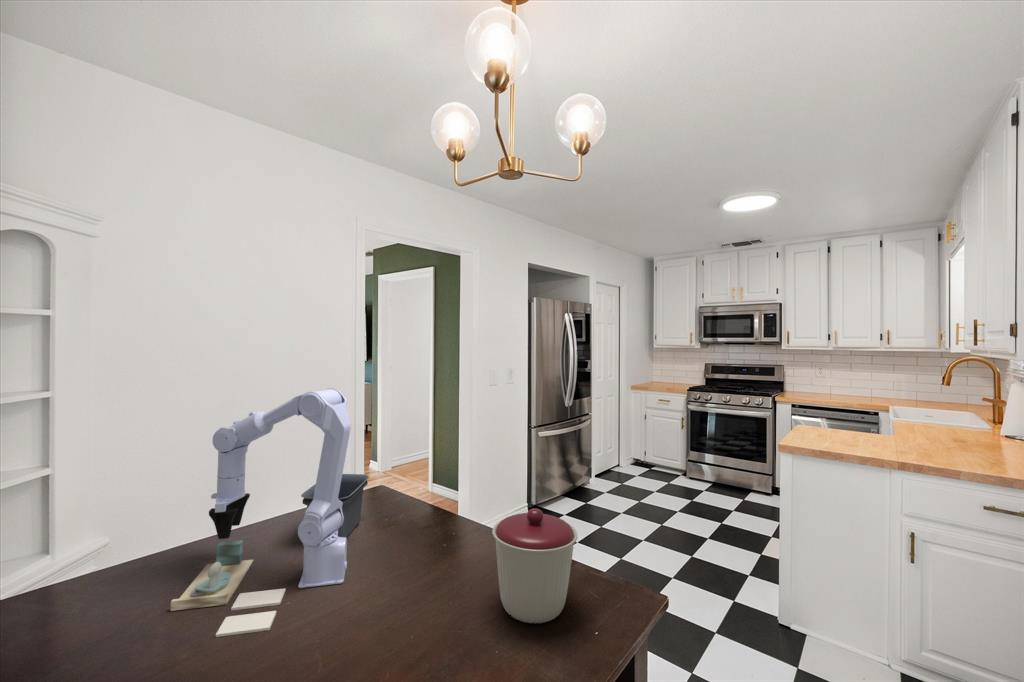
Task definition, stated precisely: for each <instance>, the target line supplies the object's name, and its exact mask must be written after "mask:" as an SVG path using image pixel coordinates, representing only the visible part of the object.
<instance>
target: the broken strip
mask: <svg viewBox="0 0 1024 682" xmlns="http://www.w3.org/2000/svg"><path fill="white" fill-rule="evenodd" d="M285 593H286V588H278V589H277V588H275V589H268V590H267V589H266V590H261V591H259V590H258V591H251V592H250V591H249V592H242V593H241V592H240V593H239V595H238V596H237V598H236V599H235V601H234V603H233V605H232V606H231V608H230V609H231V610H230V611H232V612H233V611H239V610H246V609H247V610H248V609H256V608H263V607H264V608H265V607H272V606H279V605H281V603H282V601H283V598H284V595H285ZM276 615H277V610H270V611H264V612H254V613H248V614H238V615H229V616H225V618H224V620H223V621H222V623H221V625H220V627H219V628H218V630H217V631H216V633H215V638H220V637H221V638H222V637H227V636H235V635H243V634H249V633H257V632H264V631H270V630H271V628H272V627H271V626H272V625H273V623H274V620H275V618H276Z"/></svg>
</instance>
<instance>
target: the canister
mask: <svg viewBox="0 0 1024 682" xmlns="http://www.w3.org/2000/svg"><path fill="white" fill-rule="evenodd" d="M491 533H492V536H493V538H494V540H495V549H496V552H495V554H496V565H497V576H498V586H499V596H500V601H501V603H502V606H503V609H504V610H505V612H506V613H507V614H508V615H509V616H510V615H511V616H510V617H512V619H515V620H517V621H519V622H523V623H528V624H533V623H534V624H537V623H538V624H543V623H547V622H551V621H552V620H555V619H556V618H557V617H558V616H560V614H561V613H562V611H563V609H564V607H565V604H566V602H567V601H566V599H567V595H568V589H569V582H570V576H571V575H570V574H571V567H572V560H573V554H574V553H573V552H574V544H575V543H576V542H577V540H578V532H577V530H576V528H574V526H573V525H571V524H570V523H568V522H567V521H565V520H564V519H563V518H560V517H557V516H554V515H550V514H546V513H543V511H542V510H541V509H539V508H531V509H528V511H527V512H523V513H518V514H517V513H516V514H512V515H510V516H507V517H505V518H503V519H502V520H499V521H498V522H496V524H494V525H493V527H492V531H491Z"/></svg>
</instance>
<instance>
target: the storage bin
mask: <svg viewBox="0 0 1024 682" xmlns="http://www.w3.org/2000/svg"><path fill="white" fill-rule="evenodd" d="M369 478H370V476H369V475H368V474H363V473H361V474H358V473H342V479H341V484H340V490H339V495H338V499H339V500H340V501H341V502H342V503H343V505H342V512H343V516H344V520H343V524H342V525H341V527H340V528H339V529H338V537H346V538H347V539H348V537H349V535H350V534H351V533H352V532H353V530H355V528H356V527H357V526H358V525H359V523H360V522H361V517H362V506H363V505H362V504H363V496H364V495H363V494H364V488H365V487H366V486H367V485H369V484H368V482H369V481H368V479H369ZM315 486H316V483H315V484H313V485H312V486H311V487H309V488H308V489H306V490H305V491H304V492H302V493H301V498H303V499H302V502H301V503H302V504H303V505H305V506H306V509H307V508H308V507H309V505H310V504H311V502H312V500H313V497H314V491H315Z"/></svg>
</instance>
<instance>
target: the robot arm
mask: <svg viewBox="0 0 1024 682" xmlns="http://www.w3.org/2000/svg"><path fill="white" fill-rule="evenodd" d="M347 404H348V399H347V398H346V397H345V396H344V394H343V393H342V392H341V391H340V390H339V389H337V388H334V387H333V388H332V387H331V388H326V389H321V390H316V391H307V392H305V393H303V394H300V395H297V396H294V397H293V398H291V399H289V400H287V401H286V402H284V403H282V404H280V405H279V406H278V407H275V408H273V409H271V410H270V411H268V412H266V411H251V412H249V413H248V416H247V417H245V418H243V419H241V420H240V419H239V420H235V421H233V423H232V425H231V426H224V427H220V428H219V429H218V430H216V431H215V433H214V434H213V436H212V441H211V442H212V445H213V448H214V450H216V451H217V452H218V453H217V476H216V477H217V479H216V480H217V481H216V492H215V493H212V494H211V496H210V499H212V500H213V499H215V504H214V507H213V508H211V509H210V510H208V516H209V517H210V519H211V520H212V522H213V524H214V526H215V527H214V528H215V531H216V535H217V539H218V540H223V539H224V540H225V539H230V537H231V536H230V535H231V534H232V527H235V526H240V525H241V521H242V518H243V514H244V510H245V507H246V505H247V503H248V500H249V498H250V496H251V494H250V493H248V492H247V493H246V487H245V486H246V484H245V483H246V457H247V456H246V455H247V452H248V448H249V446H250V444H251V443H252V442H254V441H256V440H258V439H260V438H262V437H263V436H265V435H268V434H270V433H271V432H272V431H273V428H274V425H276V424H279V423H281V422H283V421H285V420H287V419H290V418H291V417H294V416H298V417H300V416H302V417H303V418H305V419H306V420H307V421H309V422H311V423H312V424H313V425H315V426H316V427H318V428H319V429H320V430H321V431H322V433H324V436H323V441H322V442H323V443H322V447H321V453H320V457H319V464H318V471H317V475H316V481H315V484H316V486H315V491H314V497H313V500H312V502H311V504H310V505H309V507H308V508H307V507H306V510H305V512H304V516H303V518H302V520H301V522H300V523H299V524H298V527H297V536H298V538H299V541H301V543H302V546H303V564H302V565H303V567H302V569H303V571H302V575H301V578H300V581H299V583H298V586H297V587H298V588H299V589H303V588H304V589H305V588H311V587H313V588H314V587H321V586H330V585H338V584H343V583H344V582H345V581H344V580H345V575H346V570H347V567H348V561H347V548H348V546H347V544H348V540H347V539H348V537H347V538H346V537H338V529H339V528H340V527H341V525H342V524H343V520H344V516H343V512H342V505H343V503H342V502H341V501H340V500H339V499H338V495H339V490H340V484H341V479H342V474H344V467H345V462H346V456H347V450H348V444H349V439H350V435H351V428H352V427H351V422H350V421H351V420H350V417H349V413H348V409H347Z"/></svg>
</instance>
